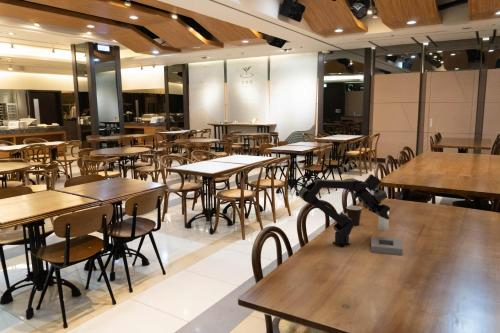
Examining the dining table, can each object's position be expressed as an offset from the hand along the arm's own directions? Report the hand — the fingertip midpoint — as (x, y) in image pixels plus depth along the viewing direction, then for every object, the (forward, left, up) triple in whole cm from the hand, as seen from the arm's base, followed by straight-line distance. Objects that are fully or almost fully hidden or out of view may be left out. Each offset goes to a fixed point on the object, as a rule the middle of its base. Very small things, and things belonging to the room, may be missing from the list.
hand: (386, 217), depth 192 cm
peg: (-1, +1, -7) cm, 7 cm away
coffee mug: (+8, +29, -13) cm, 32 cm away
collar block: (-8, -7, -12) cm, 17 cm away
